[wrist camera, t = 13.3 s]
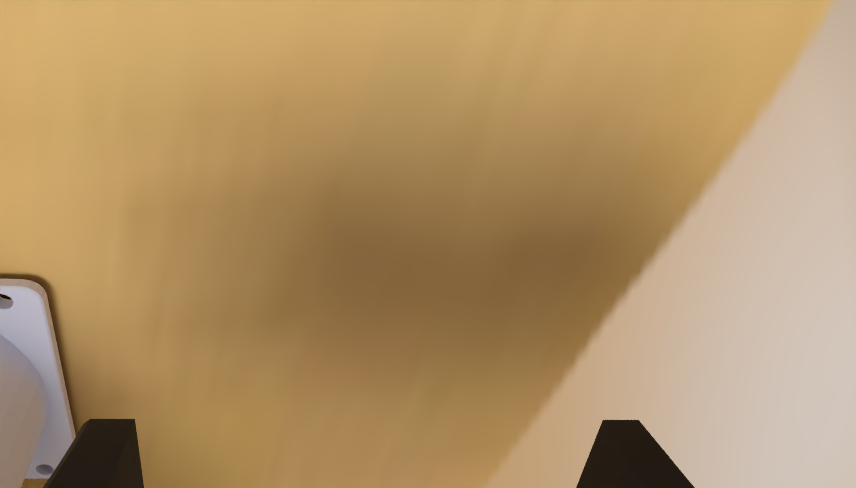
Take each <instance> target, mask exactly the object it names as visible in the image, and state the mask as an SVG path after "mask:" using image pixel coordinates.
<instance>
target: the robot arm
mask: <svg viewBox="0 0 856 488" xmlns="http://www.w3.org/2000/svg"><path fill="white" fill-rule="evenodd" d="M0 294H4V295H7V296H9V297H10V298H11V299H10V300H9V299H4V298H2V297H1V296H0V488H21V487H22V484H23V481H24V479H48V481H47V482H46V484H45V485H44V487H43V488H144V484H143V477H142V469H141V462H140V455H139V447H138V440H137V432H136V425H135V419H90V420H89V421H87V422H86V423H85V424H83V426H82V427H81V429H80V431H79V432H78V434H77V436H76V435H75V430H74V425H73V420H72V415H71V410H70V405H69V401H68V396H67V391H66V386H65V381H64V376H63V371H62V366H61V362H60V357H59V352H58V347H57V342H56V337H55V332H54V328H53V323H52V318H51V313H50V308H49V303H48V298H47V294H46V292H45V290H44V288H43V287H42V286H40V285H39V284H38V283H36V282H33V281H31V280H25V279H0ZM576 488H694V486H693V485H692V484H691V483H690V482H689V480H688V479H687V478H686V477H685V476H684V474H683V473H682V472H681V471H680V470H679V468H678V467H677V466H676V465H675V464H674V462H673V461H672V460H671V459H670V457H669V456H668V455H667V454H666V453H665V451H664V450H663V449H662V448H661V447H660V445H659V444H658V443H657V442H656V441H655V439H654V438H653V437H652V436H651V435H650V433H649V432H648V431H647V430H646V429H645V427H644V426H643V425H642V424H641V423H640V421H639V420H603V421H602V424H601V426H600V429H599V431H598V434H597V436H596V439H595V442H594V444H593V447H592V449H591V452H590V454H589V457H588V459H587V462H586V464H585V467H584V469H583V472H582V474H581V477H580V480H579V482H578V485H577V487H576Z"/></svg>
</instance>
